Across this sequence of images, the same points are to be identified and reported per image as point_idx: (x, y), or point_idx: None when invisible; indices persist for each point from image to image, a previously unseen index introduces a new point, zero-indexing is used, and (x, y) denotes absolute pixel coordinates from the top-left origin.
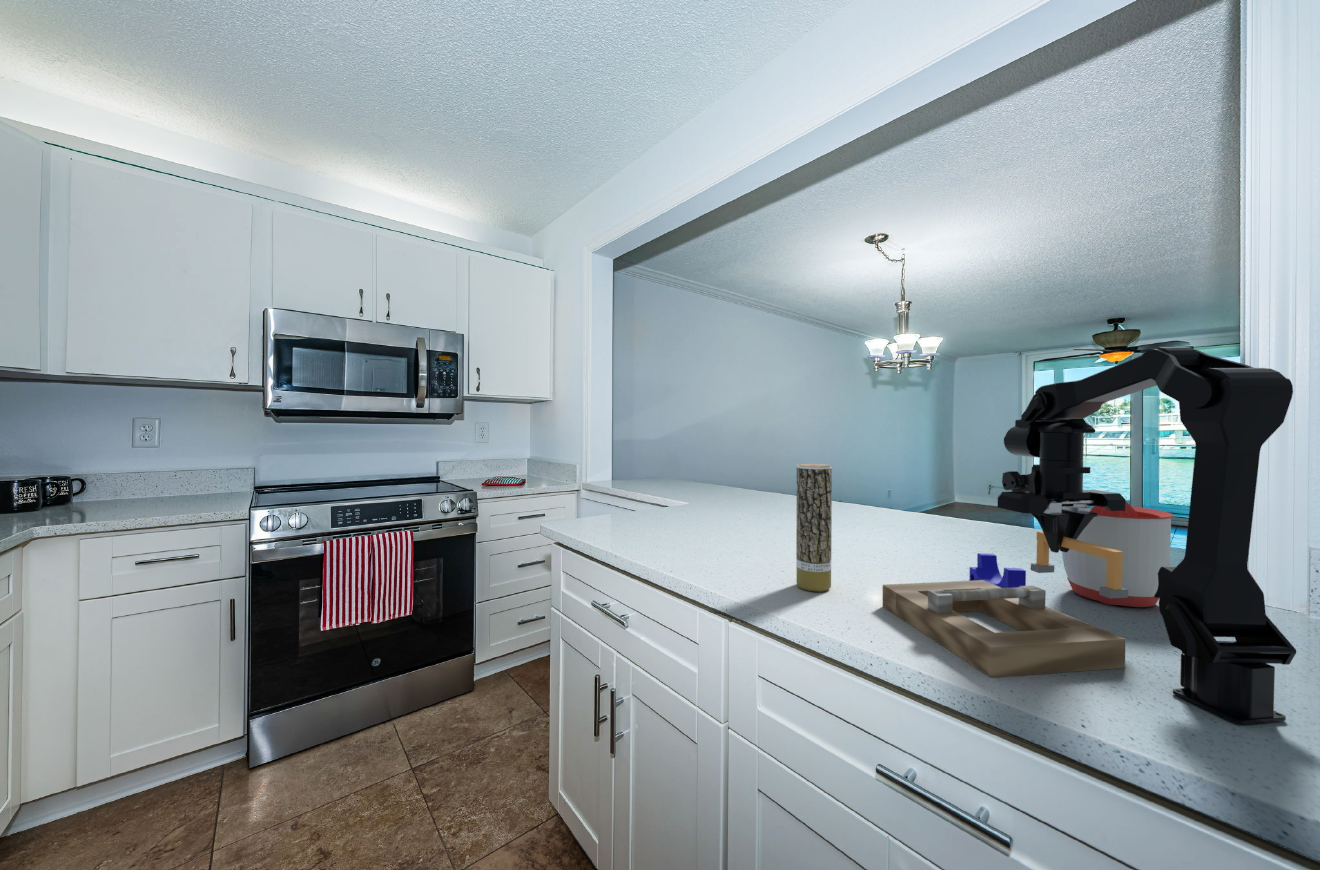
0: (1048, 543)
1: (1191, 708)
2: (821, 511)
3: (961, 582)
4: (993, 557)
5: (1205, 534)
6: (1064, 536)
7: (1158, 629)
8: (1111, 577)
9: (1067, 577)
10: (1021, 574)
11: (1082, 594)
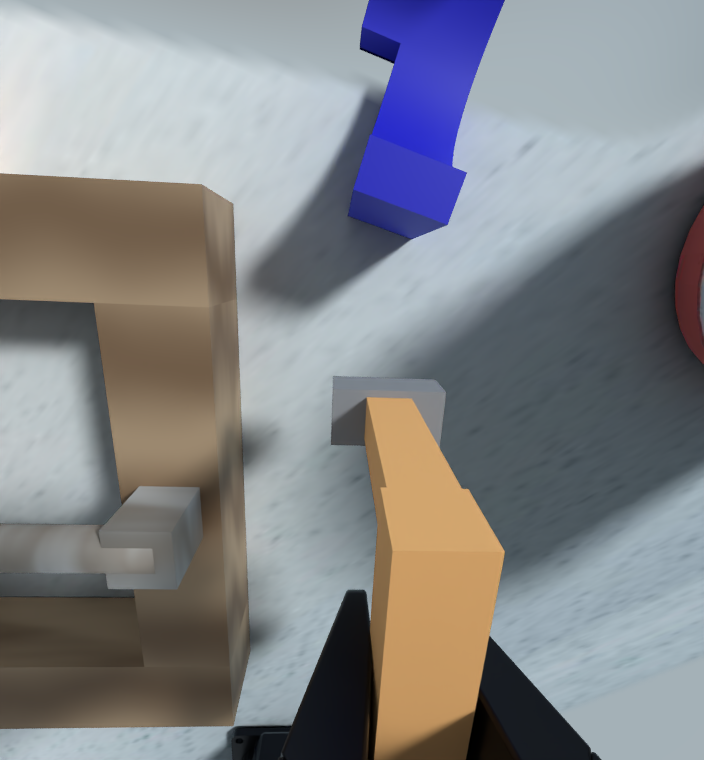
0: (328, 641)
1: (221, 755)
2: None
3: (49, 200)
4: None
5: None
6: (473, 757)
7: (580, 508)
8: None
9: None
10: (418, 220)
11: (686, 247)
